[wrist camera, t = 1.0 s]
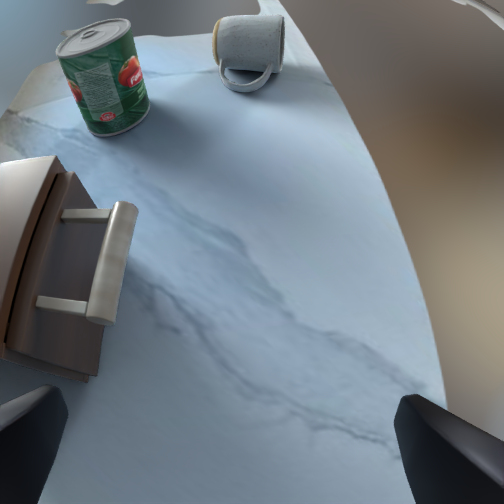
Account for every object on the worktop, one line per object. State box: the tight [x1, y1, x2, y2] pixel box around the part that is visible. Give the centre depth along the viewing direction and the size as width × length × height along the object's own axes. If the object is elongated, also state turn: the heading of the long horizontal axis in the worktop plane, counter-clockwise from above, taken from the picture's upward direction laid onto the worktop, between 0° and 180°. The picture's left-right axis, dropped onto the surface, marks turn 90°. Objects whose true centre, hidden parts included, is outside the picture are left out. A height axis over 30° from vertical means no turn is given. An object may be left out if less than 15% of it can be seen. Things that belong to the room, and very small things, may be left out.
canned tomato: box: [56, 18, 150, 137], centre depth 28 cm, size 8×8×11 cm
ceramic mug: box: [212, 15, 285, 92], centre depth 33 cm, size 11×8×8 cm
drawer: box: [4, 171, 138, 376], centre depth 18 cm, size 17×10×9 cm, turn 88°
